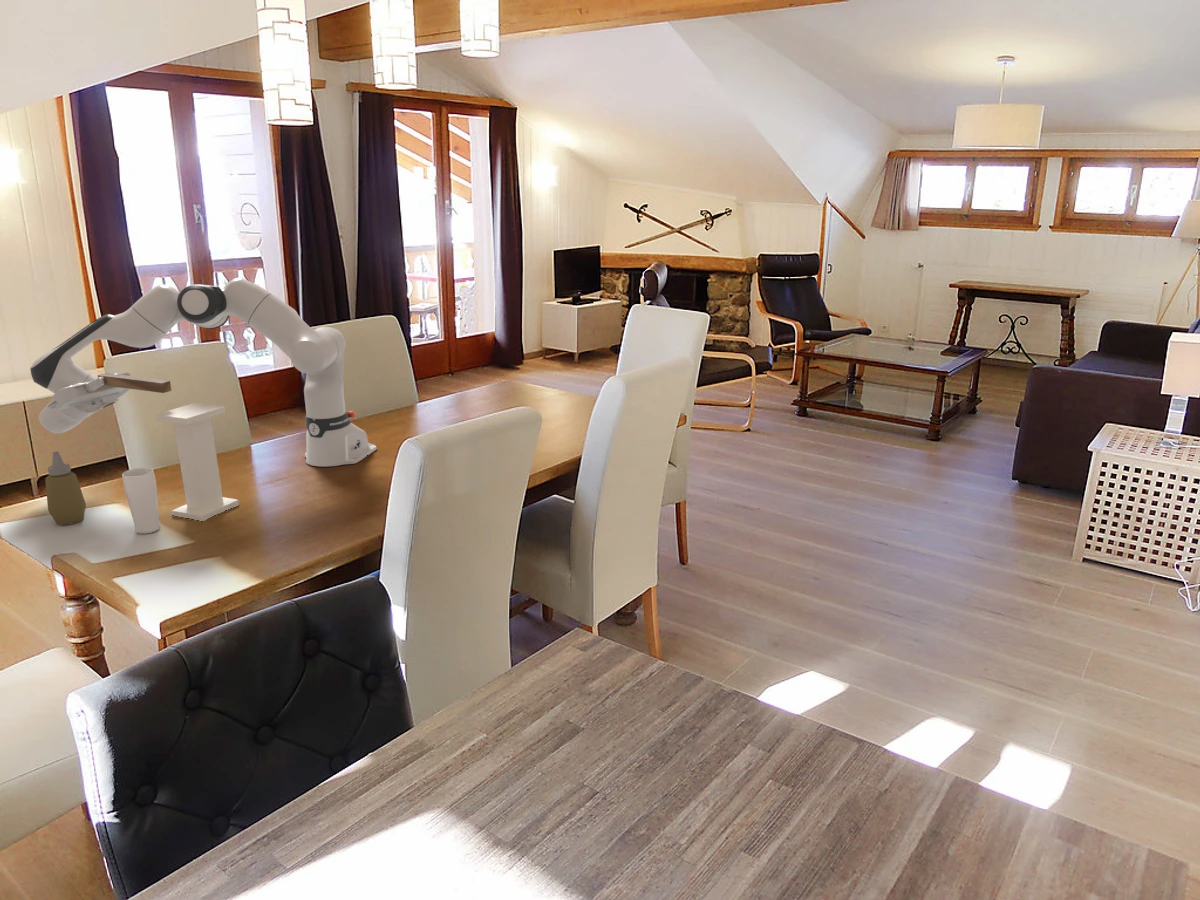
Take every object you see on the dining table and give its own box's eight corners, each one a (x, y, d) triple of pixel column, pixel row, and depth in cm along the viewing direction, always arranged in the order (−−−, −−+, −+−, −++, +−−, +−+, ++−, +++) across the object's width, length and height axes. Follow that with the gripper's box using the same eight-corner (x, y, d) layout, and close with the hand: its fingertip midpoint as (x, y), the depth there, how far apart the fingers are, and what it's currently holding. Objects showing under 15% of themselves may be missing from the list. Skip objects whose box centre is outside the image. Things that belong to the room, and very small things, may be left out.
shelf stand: (209, 499, 227) (194, 402, 219) (238, 505, 223) (224, 406, 215) (172, 516, 216) (155, 414, 208) (202, 521, 213) (186, 418, 204)
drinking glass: (169, 525, 210) (159, 467, 206) (153, 536, 204) (142, 477, 199) (143, 524, 211) (133, 466, 207) (126, 535, 205) (115, 476, 200)
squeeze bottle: (49, 529, 208) (34, 459, 203) (52, 518, 215) (37, 450, 209) (88, 523, 212) (74, 454, 206) (89, 512, 218) (75, 445, 213)
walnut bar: (107, 382, 222) (106, 373, 221) (171, 390, 214) (170, 380, 213) (99, 384, 220) (97, 375, 219) (163, 393, 212) (161, 383, 211)
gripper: (37, 398, 216) (66, 375, 210) (109, 380, 234) (137, 359, 228) (50, 420, 217) (79, 398, 210) (121, 401, 235) (149, 380, 228)
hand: (110, 378), depth 219 cm, fingers closed on walnut bar, 2 cm apart
